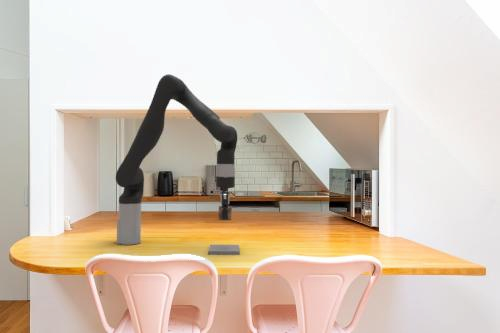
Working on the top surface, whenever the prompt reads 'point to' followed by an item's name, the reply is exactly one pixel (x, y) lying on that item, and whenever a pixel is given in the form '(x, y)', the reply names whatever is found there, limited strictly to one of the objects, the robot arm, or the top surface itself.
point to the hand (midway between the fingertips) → (224, 218)
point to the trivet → (224, 249)
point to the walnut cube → (228, 213)
